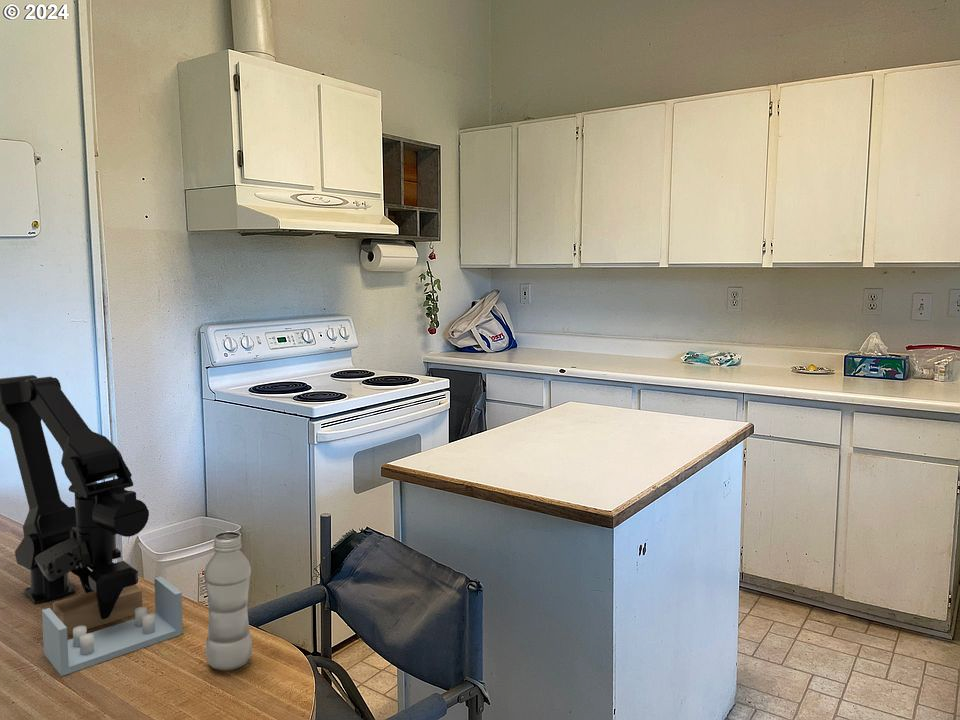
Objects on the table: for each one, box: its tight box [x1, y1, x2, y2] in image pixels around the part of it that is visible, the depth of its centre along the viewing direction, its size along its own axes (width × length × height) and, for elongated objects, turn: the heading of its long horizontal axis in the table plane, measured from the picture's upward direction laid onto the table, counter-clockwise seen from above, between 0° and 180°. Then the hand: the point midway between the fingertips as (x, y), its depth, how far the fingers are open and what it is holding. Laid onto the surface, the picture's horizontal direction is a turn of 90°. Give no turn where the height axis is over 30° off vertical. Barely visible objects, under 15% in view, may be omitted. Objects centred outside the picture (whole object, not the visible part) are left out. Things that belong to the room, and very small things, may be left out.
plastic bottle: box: [203, 530, 253, 672], centre depth 106 cm, size 6×7×20 cm
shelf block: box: [52, 584, 143, 637], centre depth 119 cm, size 5×12×4 cm, turn 137°
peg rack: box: [41, 575, 184, 677], centre depth 111 cm, size 8×18×7 cm, turn 136°
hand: (99, 612), depth 119 cm, fingers closed on shelf block, 5 cm apart
